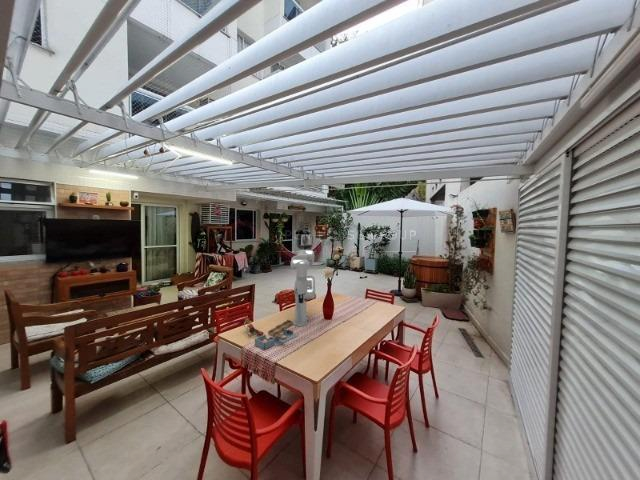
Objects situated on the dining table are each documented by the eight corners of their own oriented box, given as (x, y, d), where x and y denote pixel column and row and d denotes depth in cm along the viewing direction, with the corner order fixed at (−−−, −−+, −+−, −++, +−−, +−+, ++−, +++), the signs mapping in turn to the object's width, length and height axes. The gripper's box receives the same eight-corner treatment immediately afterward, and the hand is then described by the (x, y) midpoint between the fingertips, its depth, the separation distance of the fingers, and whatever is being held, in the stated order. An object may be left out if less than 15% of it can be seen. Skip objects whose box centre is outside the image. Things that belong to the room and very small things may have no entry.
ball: (265, 341, 181) (264, 337, 180) (269, 343, 179) (268, 339, 178) (262, 344, 178) (261, 340, 177) (265, 346, 176) (264, 342, 175)
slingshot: (260, 328, 206) (267, 329, 194) (253, 340, 201) (259, 341, 188) (244, 317, 201) (250, 317, 189) (236, 328, 196) (242, 329, 184)
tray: (264, 340, 185) (265, 334, 184) (274, 345, 178) (274, 338, 178) (254, 345, 178) (254, 338, 177) (264, 350, 171) (264, 343, 171)
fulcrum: (286, 331, 201) (286, 321, 201) (297, 336, 194) (297, 325, 193) (265, 340, 185) (265, 329, 184) (276, 346, 177) (276, 334, 177)
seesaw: (287, 322, 199) (287, 319, 199) (301, 328, 190) (301, 324, 189) (268, 334, 184) (267, 330, 184) (282, 341, 175) (282, 337, 174)
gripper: (304, 275, 191) (304, 299, 192) (290, 278, 179) (289, 304, 180) (312, 277, 186) (311, 301, 187) (298, 280, 174) (297, 306, 176)
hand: (300, 302), depth 184 cm, fingers closed
